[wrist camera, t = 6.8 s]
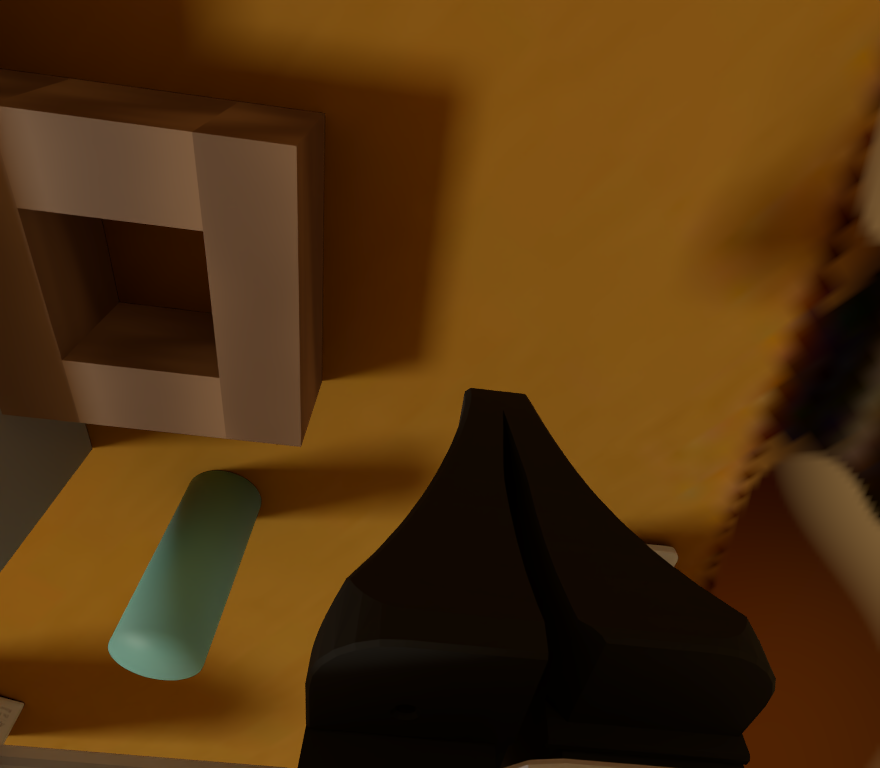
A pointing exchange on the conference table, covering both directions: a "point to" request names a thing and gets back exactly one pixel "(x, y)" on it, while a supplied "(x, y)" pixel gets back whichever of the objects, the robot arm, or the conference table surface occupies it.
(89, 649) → the conference table surface
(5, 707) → the skincare box
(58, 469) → the backstop wall
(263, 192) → the hole block
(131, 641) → the dowel
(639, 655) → the robot arm
